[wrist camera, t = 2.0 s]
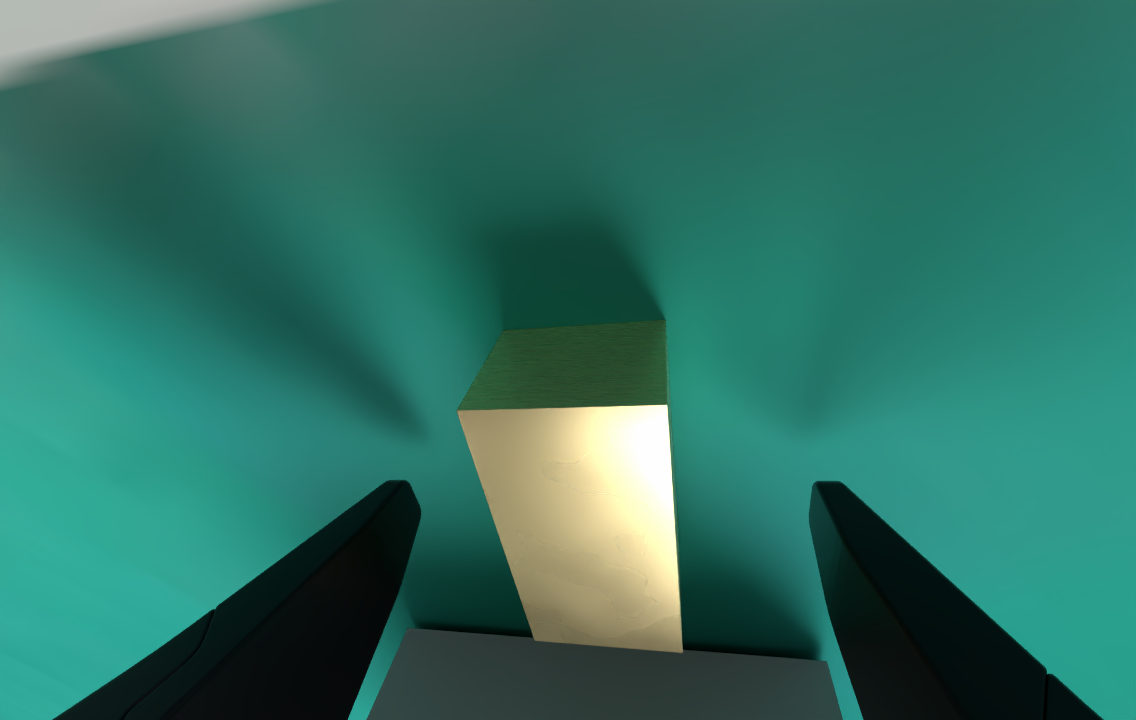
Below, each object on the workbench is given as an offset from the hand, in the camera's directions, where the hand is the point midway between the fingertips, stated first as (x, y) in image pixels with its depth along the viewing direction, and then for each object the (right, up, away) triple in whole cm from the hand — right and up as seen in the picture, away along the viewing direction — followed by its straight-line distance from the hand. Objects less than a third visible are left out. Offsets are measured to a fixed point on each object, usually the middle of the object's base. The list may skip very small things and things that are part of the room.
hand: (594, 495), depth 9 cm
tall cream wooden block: (0, +1, +1) cm, 1 cm away
